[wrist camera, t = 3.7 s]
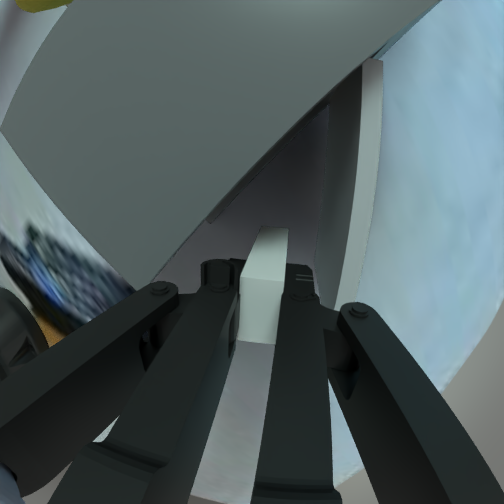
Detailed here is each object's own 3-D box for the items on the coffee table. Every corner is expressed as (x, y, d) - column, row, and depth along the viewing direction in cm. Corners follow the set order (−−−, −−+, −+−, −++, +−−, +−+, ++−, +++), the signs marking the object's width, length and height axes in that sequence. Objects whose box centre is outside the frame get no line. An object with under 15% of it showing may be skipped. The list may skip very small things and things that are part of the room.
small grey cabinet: (213, 220, 22) (131, 303, 10) (113, 126, 20) (-11, 130, 8) (391, 48, 15) (476, -26, 3) (275, -37, 14) (257, -138, 2)
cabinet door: (332, 263, 21) (356, 342, 12) (313, 261, 21) (326, 340, 12) (349, 101, 16) (397, 64, 8) (329, 98, 17) (362, 56, 8)
